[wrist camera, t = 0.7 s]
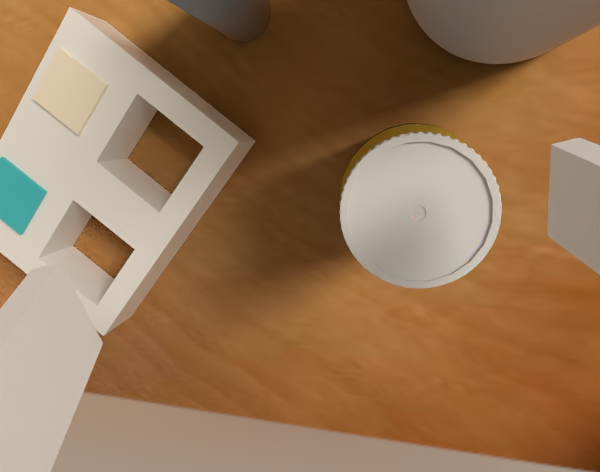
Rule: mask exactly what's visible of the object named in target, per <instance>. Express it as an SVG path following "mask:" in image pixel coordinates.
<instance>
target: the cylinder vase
mask: <svg viewBox="0 0 600 472" xmlns="http://www.w3.org/2000/svg"><path fill="white" fill-rule="evenodd" d="M407 3H408V5H409V8H410V10H411V12H412V14H413V16H414V18H415V19H416V21H417V23H418V24H419V26H420V27H421V28H422V30H423V31H424V32H425V33H426V34H427V35H428V36H429V37H430V38H431V39H432V40H433V41H434V42H435V43H436V44H437V45H439V46H440V47H442V48H443V49H445V50H446V51H448V52H450V53H452V54H453V55H456V56H458V57H460V58H463V59H466V60H469V61H473V62H478V63H485V64H507V63H515V62H520V61H524V60H528V59H531V58H534V57H537V56H539V55H542V54H544V53H546V52H548V51H550V50H552V49H554V48H556V47H558V46H560V45H562V44H564V43H566V42H568V41H570V40H572V39H573V38H575V37H577V36H579V35H581V34H583V33H585V32H587V31H589V30H591V29H593V28H595V27H596V26H598V25H600V0H407Z"/></svg>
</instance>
